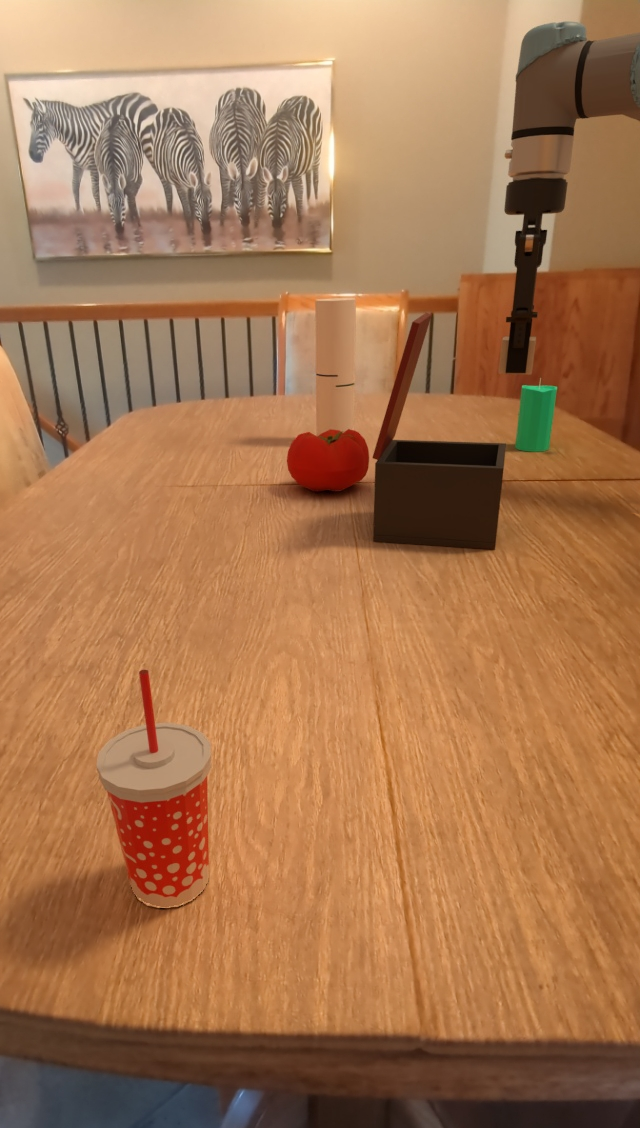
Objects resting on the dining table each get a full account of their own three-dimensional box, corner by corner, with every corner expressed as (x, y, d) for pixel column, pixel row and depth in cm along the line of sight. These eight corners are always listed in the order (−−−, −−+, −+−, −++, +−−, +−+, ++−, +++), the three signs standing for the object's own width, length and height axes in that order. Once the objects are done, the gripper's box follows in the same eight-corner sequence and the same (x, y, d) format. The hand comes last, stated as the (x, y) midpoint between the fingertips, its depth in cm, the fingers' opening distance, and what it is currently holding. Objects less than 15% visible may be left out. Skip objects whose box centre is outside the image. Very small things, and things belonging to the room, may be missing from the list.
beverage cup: (133, 840, 47) (102, 642, 41) (230, 845, 47) (214, 644, 40) (104, 917, 42) (63, 702, 36) (213, 923, 41) (191, 705, 35)
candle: (509, 449, 135) (517, 379, 130) (521, 442, 140) (529, 374, 134) (543, 453, 132) (552, 381, 127) (554, 446, 136) (563, 376, 131)
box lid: (432, 314, 93) (425, 312, 93) (419, 323, 82) (412, 321, 82) (394, 437, 101) (388, 435, 101) (378, 460, 90) (372, 458, 90)
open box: (498, 517, 102) (506, 443, 97) (495, 549, 91) (503, 468, 86) (388, 511, 105) (391, 439, 101) (373, 541, 95) (375, 463, 90)
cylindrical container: (319, 438, 148) (318, 298, 137) (356, 438, 147) (358, 297, 135) (313, 446, 142) (312, 301, 131) (351, 447, 141) (353, 300, 129)
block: (532, 370, 109) (536, 336, 107) (531, 374, 105) (535, 340, 103) (500, 369, 110) (503, 336, 108) (498, 374, 106) (501, 339, 104)
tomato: (299, 503, 110) (298, 444, 106) (281, 481, 121) (280, 427, 117) (382, 496, 112) (384, 437, 108) (357, 475, 123) (358, 421, 119)
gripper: (510, 184, 105) (493, 361, 116) (503, 175, 90) (484, 378, 101) (567, 181, 103) (544, 362, 114) (569, 171, 88) (543, 379, 99)
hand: (516, 369), depth 107 cm, fingers closed on block, 4 cm apart
